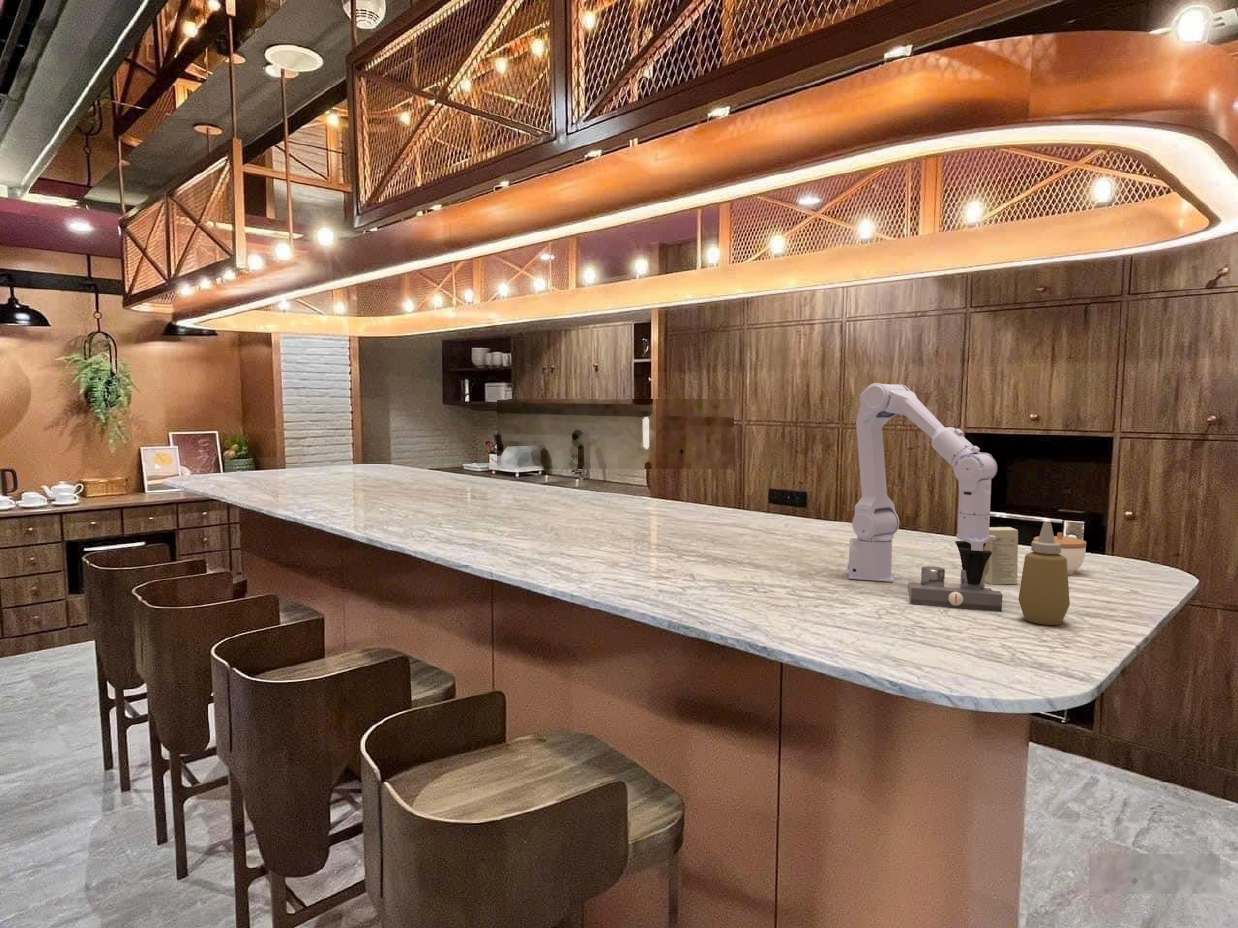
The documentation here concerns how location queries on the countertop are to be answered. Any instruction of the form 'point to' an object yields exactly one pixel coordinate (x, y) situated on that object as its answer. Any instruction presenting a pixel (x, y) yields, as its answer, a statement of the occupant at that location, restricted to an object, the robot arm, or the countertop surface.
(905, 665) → the countertop surface
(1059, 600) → the squeeze bottle
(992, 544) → the skincare box
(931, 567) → the block
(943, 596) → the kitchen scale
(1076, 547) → the lidded jar
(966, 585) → the cylinder
